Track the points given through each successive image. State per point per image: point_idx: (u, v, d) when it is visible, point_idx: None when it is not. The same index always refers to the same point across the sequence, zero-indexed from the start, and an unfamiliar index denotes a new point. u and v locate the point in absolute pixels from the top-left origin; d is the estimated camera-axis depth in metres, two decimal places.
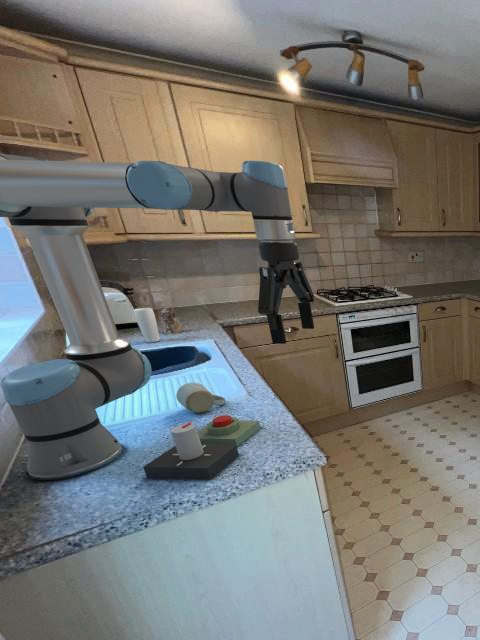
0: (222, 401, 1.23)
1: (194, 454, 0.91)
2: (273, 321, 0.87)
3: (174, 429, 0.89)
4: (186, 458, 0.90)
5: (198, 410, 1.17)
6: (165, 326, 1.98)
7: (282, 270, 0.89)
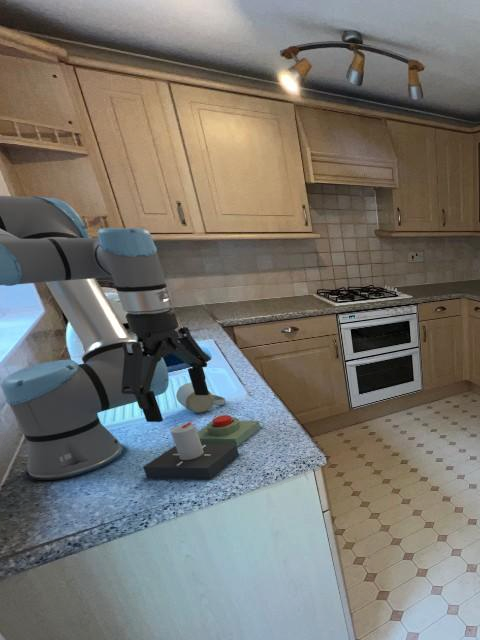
0: (222, 401, 1.23)
1: (194, 454, 0.91)
2: (142, 400, 0.79)
3: (174, 429, 0.89)
4: (186, 458, 0.90)
5: (198, 410, 1.17)
6: None
7: (155, 342, 0.81)
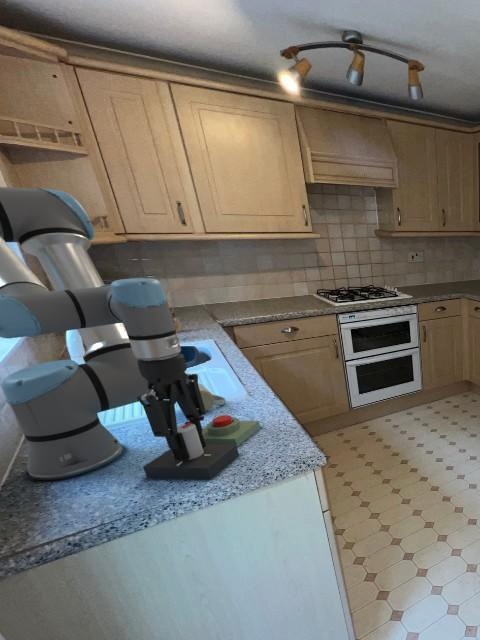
0: (222, 401, 1.23)
1: (194, 454, 0.91)
2: (172, 441, 0.86)
3: None
4: None
5: None
6: None
7: (164, 384, 0.83)
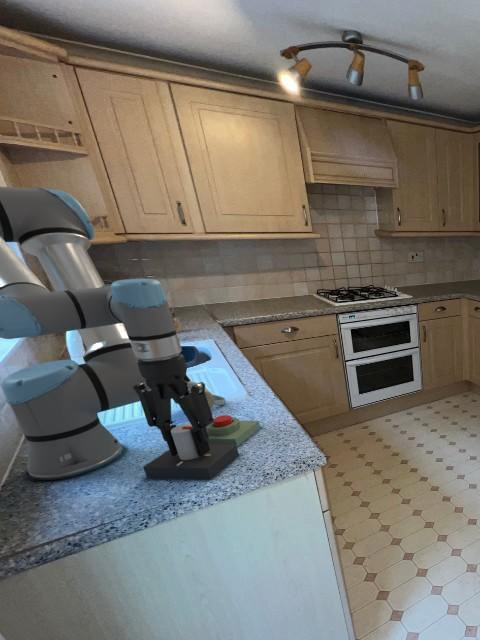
0: (222, 401, 1.23)
1: (179, 455, 0.90)
2: None
3: (184, 425, 0.91)
4: None
5: None
6: None
7: (153, 382, 0.84)
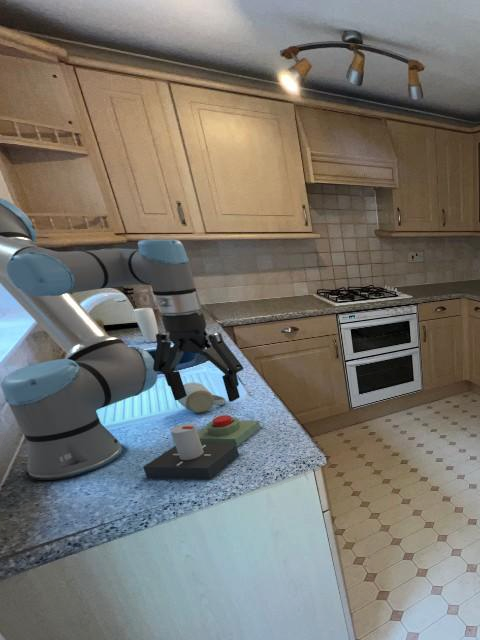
0: (222, 401, 1.23)
1: (179, 455, 0.90)
2: None
3: (184, 425, 0.91)
4: None
5: (198, 410, 1.17)
6: None
7: (176, 338, 0.92)
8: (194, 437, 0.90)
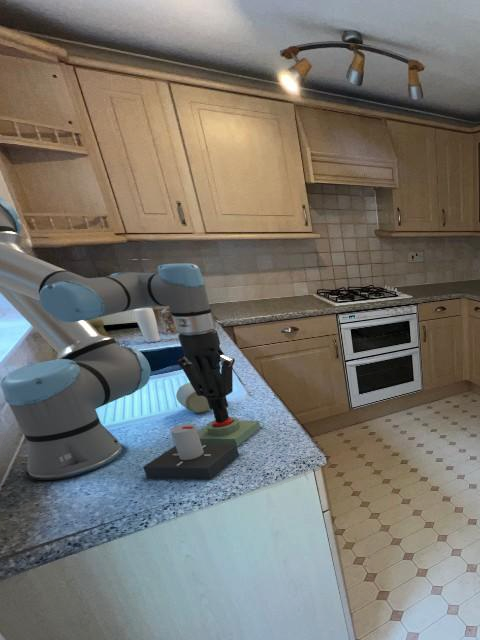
0: None
1: (179, 455, 0.90)
2: None
3: (184, 425, 0.91)
4: None
5: (198, 410, 1.17)
6: (165, 326, 1.98)
7: (190, 353, 0.97)
8: (194, 437, 0.90)
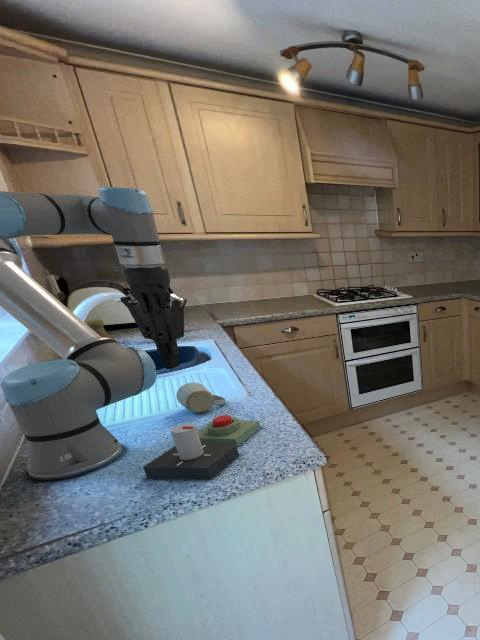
0: (222, 401, 1.23)
1: (179, 455, 0.90)
2: None
3: (184, 425, 0.91)
4: None
5: (198, 410, 1.17)
6: None
7: (136, 290, 0.89)
8: (194, 437, 0.90)
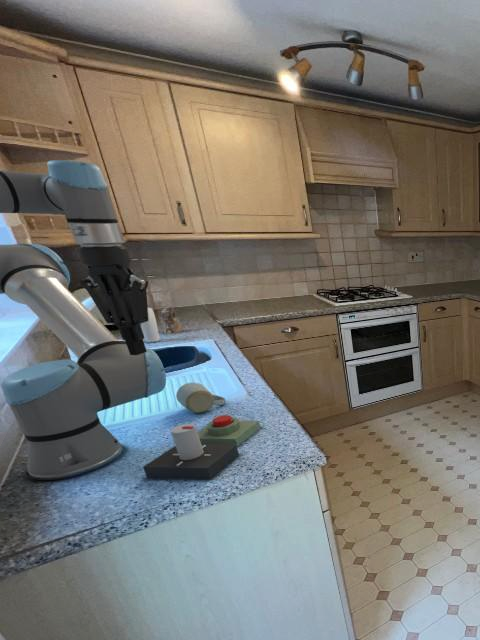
0: (222, 401, 1.23)
1: (179, 455, 0.90)
2: None
3: (184, 425, 0.91)
4: None
5: (198, 410, 1.17)
6: (165, 326, 1.98)
7: (94, 271, 0.85)
8: (194, 437, 0.90)
